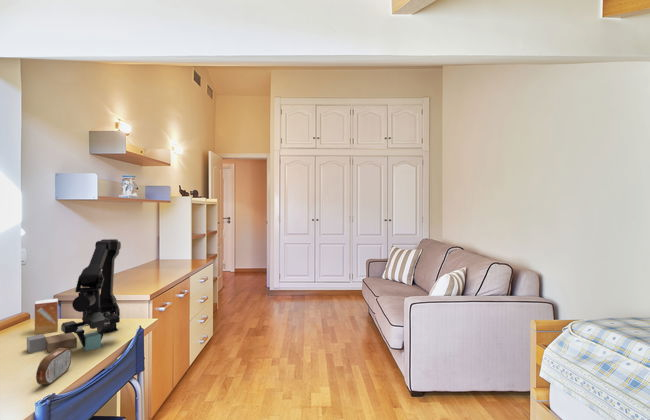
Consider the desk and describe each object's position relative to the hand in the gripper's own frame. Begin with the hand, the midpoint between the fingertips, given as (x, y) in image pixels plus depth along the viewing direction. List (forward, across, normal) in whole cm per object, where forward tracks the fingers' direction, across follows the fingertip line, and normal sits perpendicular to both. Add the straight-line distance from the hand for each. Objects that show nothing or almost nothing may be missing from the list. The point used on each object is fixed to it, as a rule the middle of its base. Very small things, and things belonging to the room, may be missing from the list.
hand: (91, 344), depth 151 cm
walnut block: (+1, -8, +9) cm, 12 cm away
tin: (+1, -16, -20) cm, 26 cm away
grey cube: (+1, -15, +12) cm, 19 cm away
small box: (+1, -7, +34) cm, 35 cm away
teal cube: (+1, 0, 0) cm, 1 cm away
